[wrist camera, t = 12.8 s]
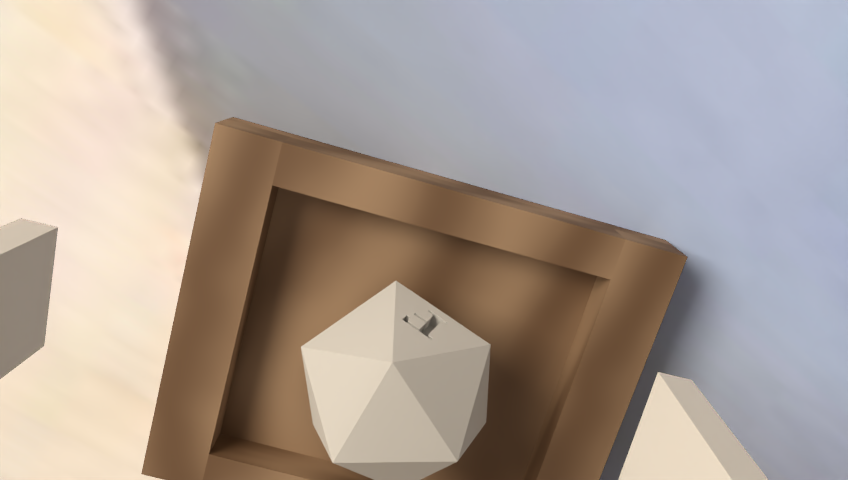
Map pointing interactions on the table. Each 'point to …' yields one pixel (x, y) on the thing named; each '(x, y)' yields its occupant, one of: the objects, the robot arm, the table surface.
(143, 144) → the table surface
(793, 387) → the table surface
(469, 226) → the tray
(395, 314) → the die
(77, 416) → the table surface
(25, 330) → the robot arm
